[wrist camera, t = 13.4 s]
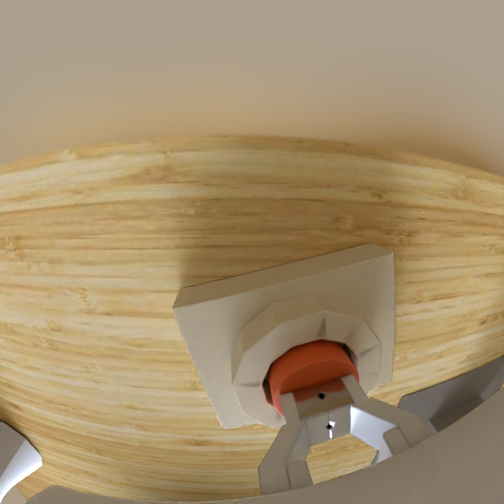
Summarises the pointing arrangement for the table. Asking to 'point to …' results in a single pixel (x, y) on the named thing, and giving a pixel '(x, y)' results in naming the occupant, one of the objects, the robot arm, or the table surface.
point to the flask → (15, 458)
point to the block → (288, 326)
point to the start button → (308, 368)
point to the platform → (454, 396)
